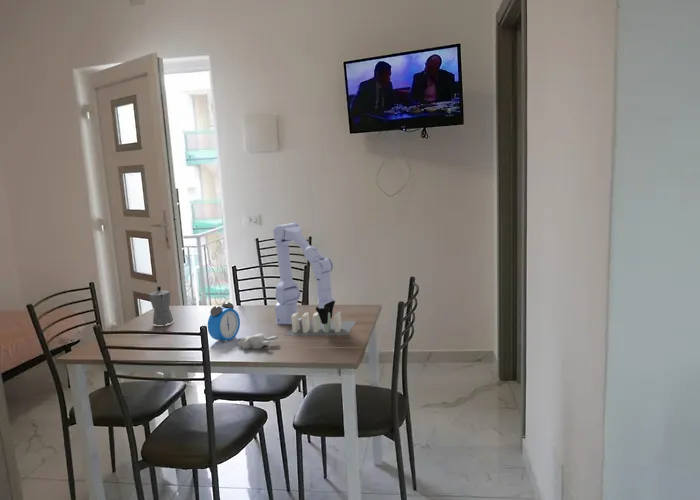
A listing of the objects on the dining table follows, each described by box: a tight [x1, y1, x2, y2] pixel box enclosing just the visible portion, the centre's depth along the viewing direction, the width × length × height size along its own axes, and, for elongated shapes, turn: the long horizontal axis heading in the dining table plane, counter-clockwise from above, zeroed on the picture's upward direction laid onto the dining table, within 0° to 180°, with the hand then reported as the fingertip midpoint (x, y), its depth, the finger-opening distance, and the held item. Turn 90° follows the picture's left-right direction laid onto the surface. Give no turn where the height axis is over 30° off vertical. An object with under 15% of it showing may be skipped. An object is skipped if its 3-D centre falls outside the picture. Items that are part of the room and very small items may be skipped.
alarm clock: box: [207, 301, 241, 343], centre depth 222 cm, size 13×6×15 cm, turn 151°
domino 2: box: [301, 312, 311, 333], centre depth 226 cm, size 2×5×7 cm, turn 168°
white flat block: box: [333, 311, 342, 332], centre depth 223 cm, size 2×5×7 cm, turn 168°
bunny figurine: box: [237, 333, 279, 350], centre depth 210 cm, size 10×5×15 cm
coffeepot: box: [148, 286, 174, 325], centre depth 254 cm, size 15×9×18 cm, turn 26°
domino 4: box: [324, 312, 332, 332], centre depth 224 cm, size 2×5×7 cm, turn 168°
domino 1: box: [291, 312, 300, 333], centre depth 227 cm, size 2×5×7 cm, turn 169°
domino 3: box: [312, 311, 321, 332], centre depth 225 cm, size 2×5×7 cm, turn 168°
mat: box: [284, 320, 357, 337], centre depth 229 cm, size 26×19×1 cm
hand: (326, 321), depth 224 cm, fingers open, 7 cm apart
